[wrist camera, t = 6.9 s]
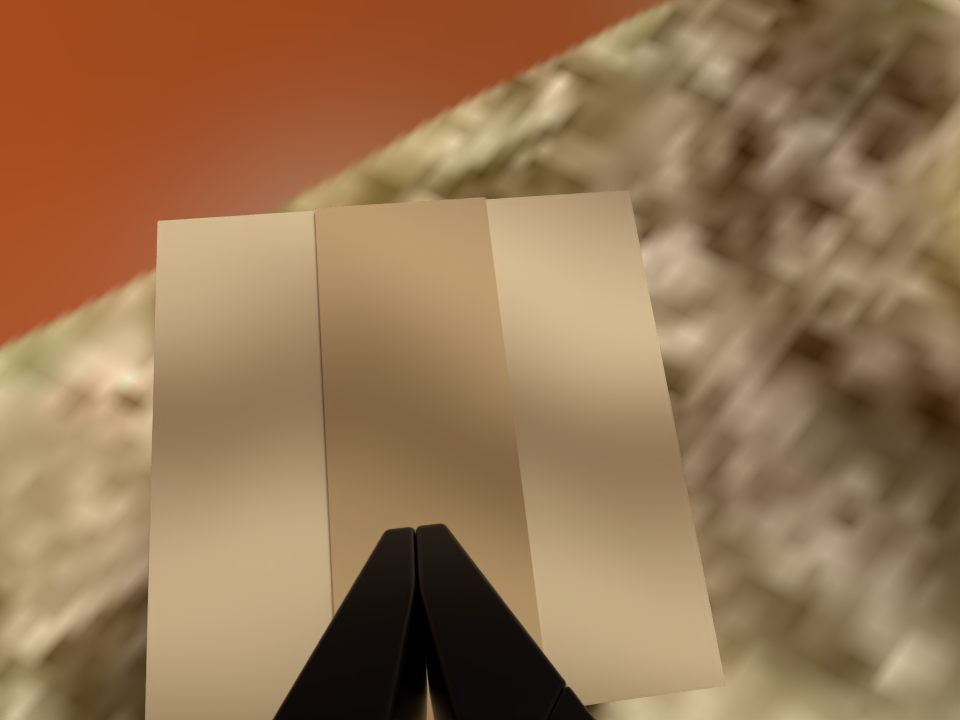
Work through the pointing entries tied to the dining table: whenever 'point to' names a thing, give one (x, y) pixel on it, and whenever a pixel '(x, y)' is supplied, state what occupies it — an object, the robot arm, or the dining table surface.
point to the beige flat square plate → (414, 440)
